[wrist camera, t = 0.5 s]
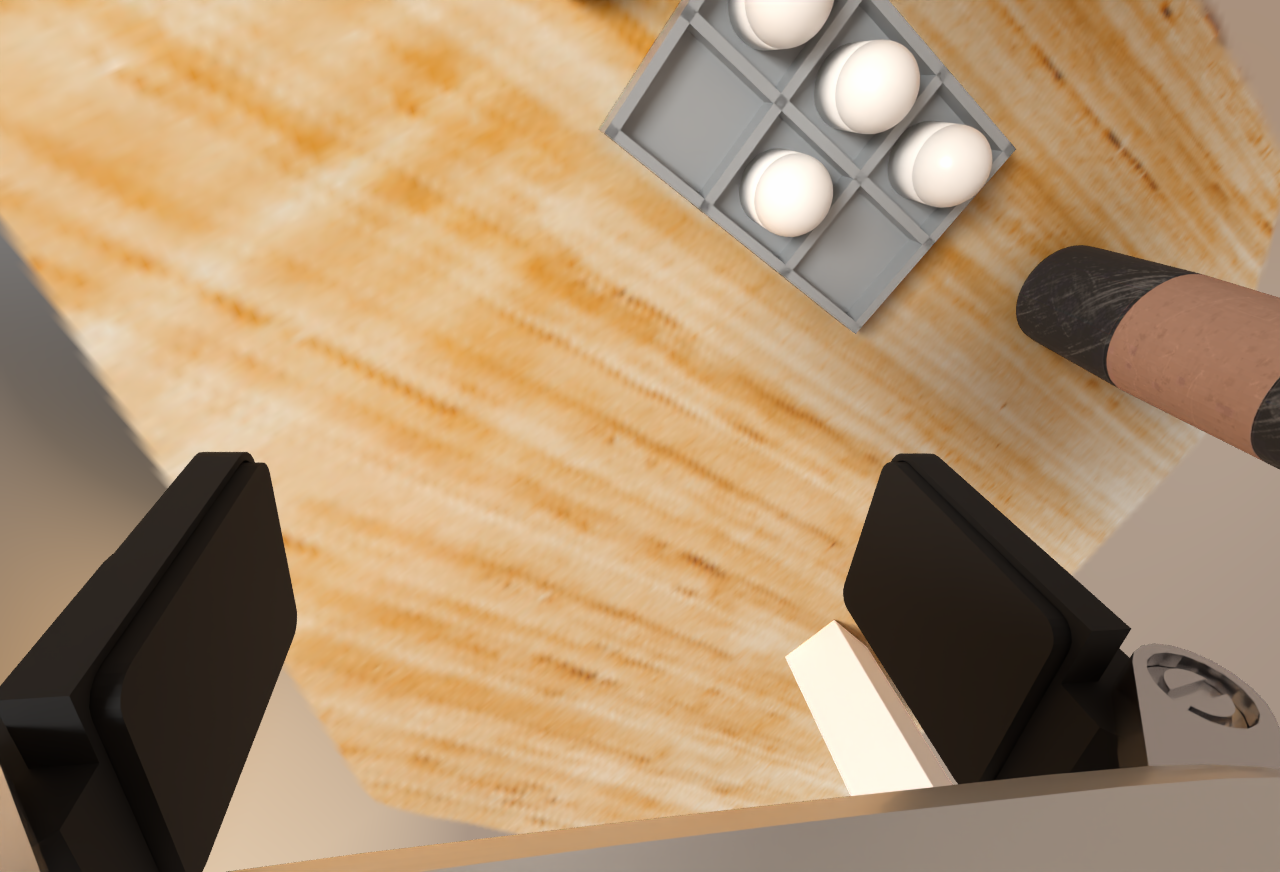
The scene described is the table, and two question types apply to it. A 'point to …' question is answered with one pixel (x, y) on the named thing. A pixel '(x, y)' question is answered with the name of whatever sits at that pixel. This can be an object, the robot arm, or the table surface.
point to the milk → (862, 716)
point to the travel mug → (1165, 339)
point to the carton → (811, 138)
